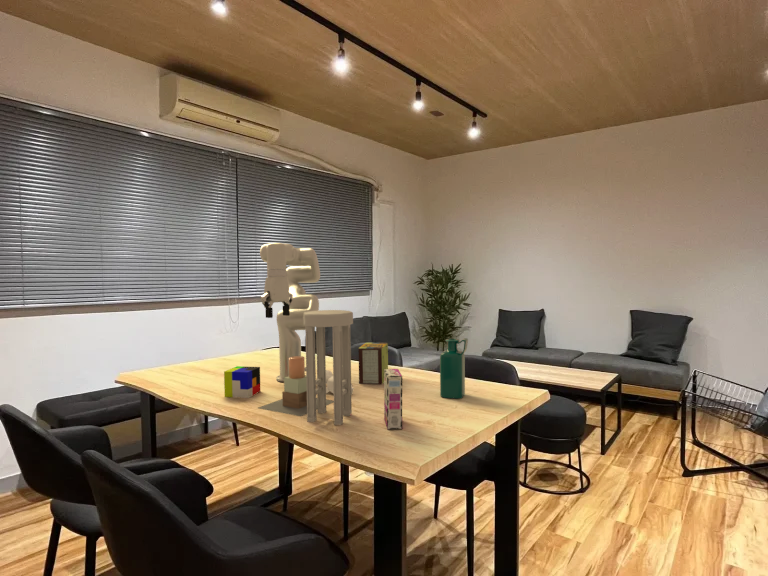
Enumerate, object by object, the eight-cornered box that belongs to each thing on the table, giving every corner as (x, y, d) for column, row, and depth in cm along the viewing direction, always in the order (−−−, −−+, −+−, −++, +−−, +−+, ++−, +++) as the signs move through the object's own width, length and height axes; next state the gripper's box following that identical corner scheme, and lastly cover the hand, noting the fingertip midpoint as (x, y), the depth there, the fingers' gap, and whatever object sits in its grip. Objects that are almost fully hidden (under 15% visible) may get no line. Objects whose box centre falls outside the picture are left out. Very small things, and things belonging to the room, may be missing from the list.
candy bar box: (403, 429, 139) (402, 375, 139) (387, 430, 139) (386, 376, 138) (399, 417, 151) (398, 368, 150) (383, 418, 150) (383, 368, 150)
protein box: (388, 376, 210) (388, 342, 210) (382, 384, 195) (381, 348, 194) (366, 375, 212) (365, 342, 211) (358, 383, 197) (357, 347, 196)
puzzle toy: (248, 398, 177) (247, 372, 176) (224, 397, 179) (224, 371, 178) (260, 391, 186) (259, 366, 186) (237, 390, 188) (237, 366, 188)
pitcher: (439, 397, 174) (438, 339, 173) (444, 392, 182) (443, 336, 181) (465, 399, 170) (464, 340, 169) (469, 394, 178) (468, 337, 177)
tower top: (296, 387, 170) (296, 374, 170) (310, 389, 167) (310, 376, 167) (284, 391, 164) (284, 377, 164) (298, 393, 161) (298, 379, 161)
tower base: (296, 400, 171) (296, 387, 171) (312, 403, 167) (312, 389, 167) (282, 405, 164) (282, 391, 164) (298, 408, 161) (298, 394, 160)
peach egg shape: (296, 374, 169) (295, 355, 169) (308, 376, 166) (307, 356, 166) (285, 377, 164) (285, 358, 164) (297, 379, 162) (297, 359, 161)
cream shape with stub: (352, 400, 182) (325, 382, 190) (358, 381, 180) (331, 363, 188) (337, 405, 175) (311, 386, 183) (343, 386, 173) (316, 367, 181)
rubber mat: (295, 395, 179) (295, 394, 179) (336, 402, 169) (336, 401, 169) (257, 409, 162) (257, 407, 162) (300, 417, 152) (300, 416, 152)
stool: (359, 412, 157) (357, 310, 155) (345, 427, 142) (343, 314, 140) (316, 409, 160) (314, 309, 159) (298, 424, 145) (296, 313, 144)
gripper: (284, 273, 194) (285, 314, 194) (254, 274, 179) (255, 318, 179) (298, 273, 190) (299, 315, 191) (268, 274, 175) (269, 319, 176)
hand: (277, 316), depth 185 cm, fingers open, 9 cm apart
